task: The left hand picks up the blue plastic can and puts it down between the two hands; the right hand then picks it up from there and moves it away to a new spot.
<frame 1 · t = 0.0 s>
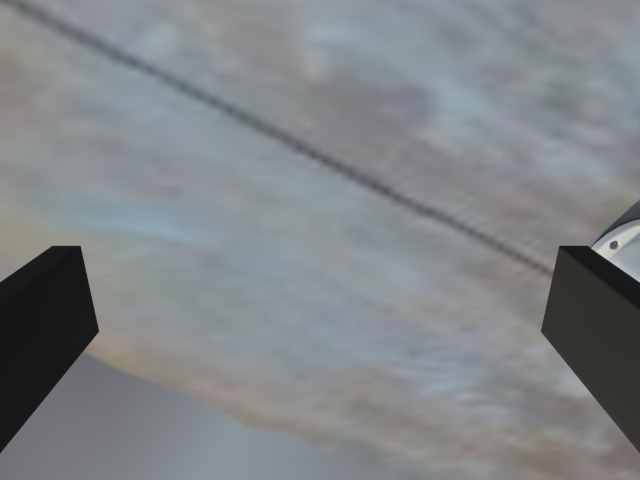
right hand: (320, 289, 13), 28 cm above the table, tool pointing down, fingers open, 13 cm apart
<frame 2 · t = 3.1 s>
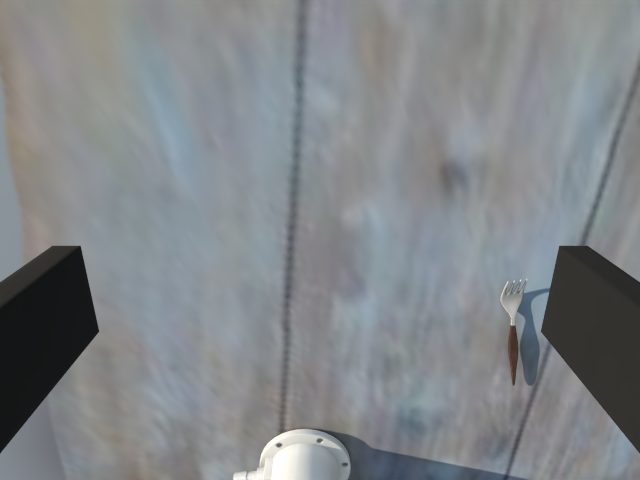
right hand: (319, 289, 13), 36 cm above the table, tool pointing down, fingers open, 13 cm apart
fork: (510, 329, 55), on the table
when the left hand's fingers open (2 cm above the table, at t = 7.1 s): can drops 1 cm, on the table.
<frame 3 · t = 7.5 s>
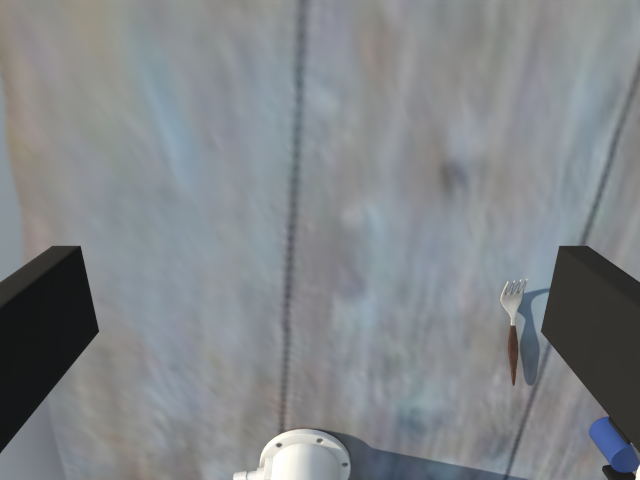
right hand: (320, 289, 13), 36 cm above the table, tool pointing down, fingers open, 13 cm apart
can: (606, 429, 61), on the table
fork: (510, 329, 55), on the table
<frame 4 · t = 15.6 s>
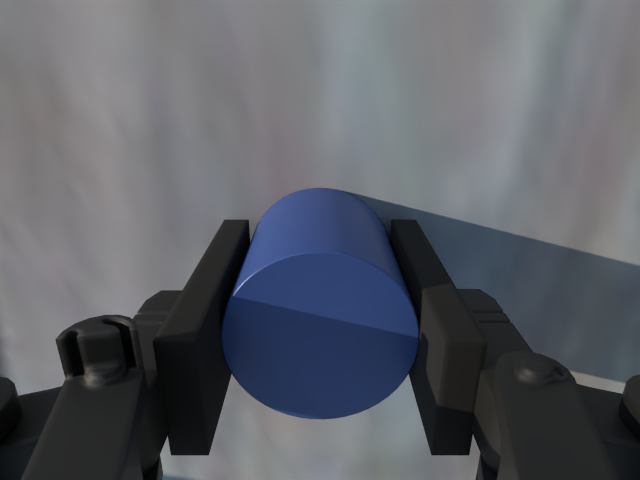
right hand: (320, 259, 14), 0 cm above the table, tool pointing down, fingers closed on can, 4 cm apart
can: (320, 254, 15), on the table, touching right hand
when the right hand's fingers open (1 cm above the table, at t = 27.4 s): can drops 1 cm, on the table.
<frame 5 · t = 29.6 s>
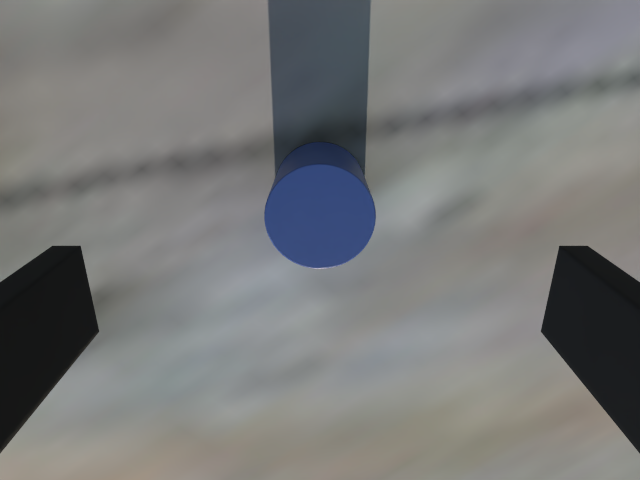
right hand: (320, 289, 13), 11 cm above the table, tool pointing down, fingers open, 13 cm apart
can: (320, 186, 23), on the table
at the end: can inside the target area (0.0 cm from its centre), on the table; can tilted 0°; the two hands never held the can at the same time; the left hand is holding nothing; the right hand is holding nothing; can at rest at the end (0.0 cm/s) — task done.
